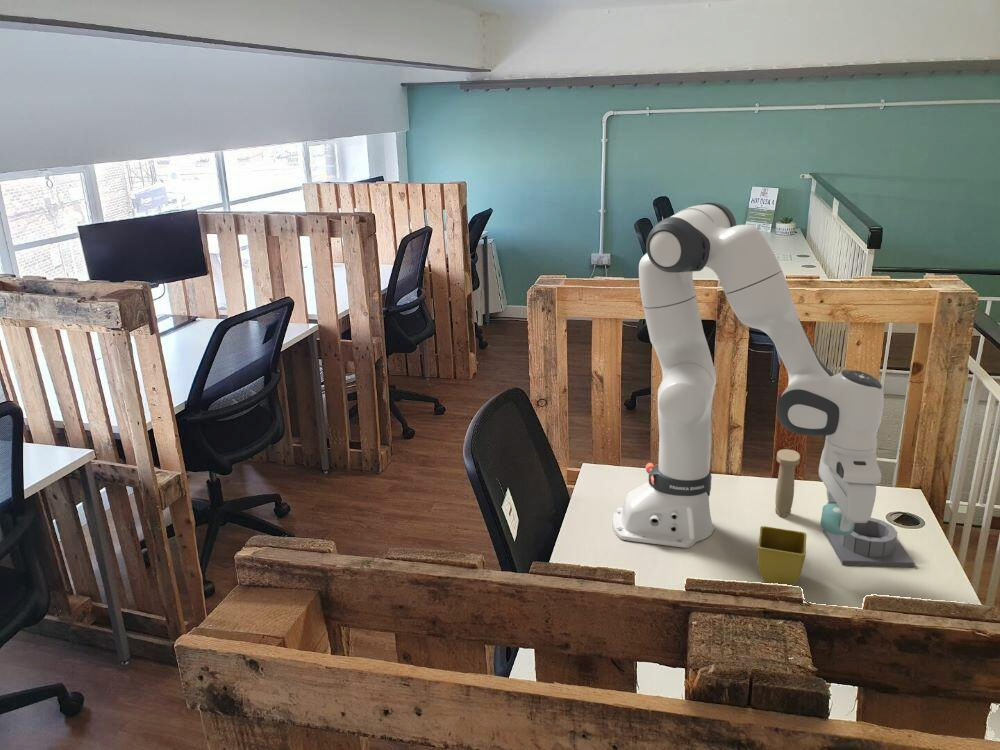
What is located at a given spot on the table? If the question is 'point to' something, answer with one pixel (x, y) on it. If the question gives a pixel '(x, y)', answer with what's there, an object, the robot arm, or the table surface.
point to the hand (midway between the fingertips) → (838, 519)
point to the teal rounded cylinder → (833, 520)
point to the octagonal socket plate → (870, 545)
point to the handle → (785, 481)
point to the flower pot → (781, 555)
